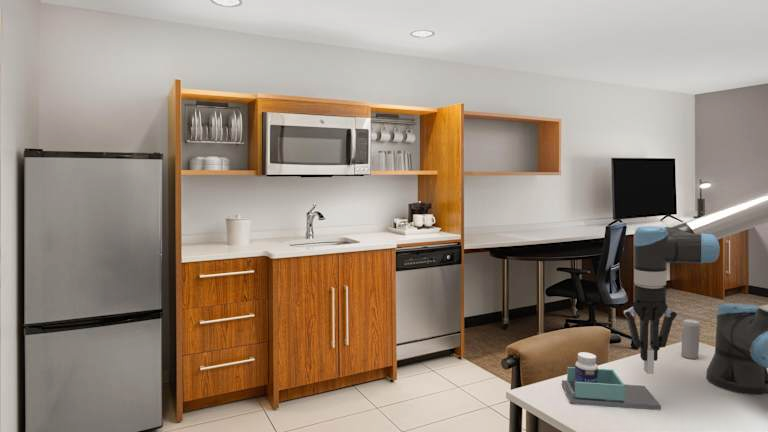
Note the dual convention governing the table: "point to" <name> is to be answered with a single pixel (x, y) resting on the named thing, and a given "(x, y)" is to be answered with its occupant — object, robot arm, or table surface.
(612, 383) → the housing
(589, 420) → the table surface
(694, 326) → the beverage can
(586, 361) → the pill bottle
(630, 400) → the plate
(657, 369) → the table surface
